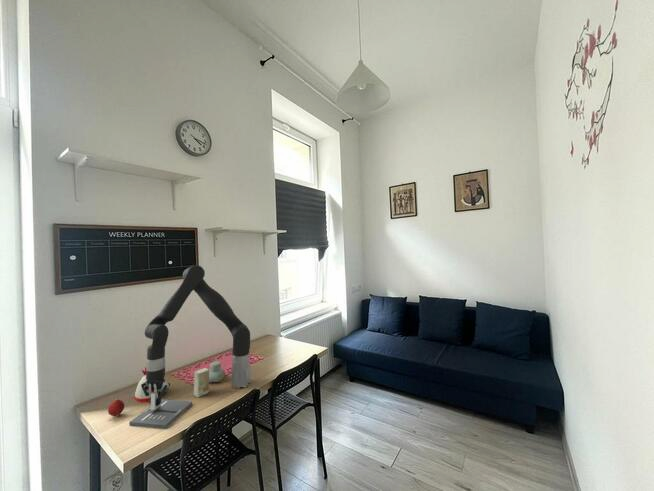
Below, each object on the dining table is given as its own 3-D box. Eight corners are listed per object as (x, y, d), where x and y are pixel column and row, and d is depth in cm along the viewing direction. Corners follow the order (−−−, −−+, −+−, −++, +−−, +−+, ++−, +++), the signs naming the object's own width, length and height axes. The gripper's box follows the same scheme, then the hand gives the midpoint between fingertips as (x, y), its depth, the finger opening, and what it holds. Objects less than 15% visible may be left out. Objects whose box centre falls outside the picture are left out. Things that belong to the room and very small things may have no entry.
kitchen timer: (138, 391, 143) (139, 362, 143) (168, 385, 148) (168, 358, 149) (131, 404, 130) (132, 373, 130) (163, 398, 135) (164, 368, 136)
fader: (161, 406, 125) (161, 388, 125) (152, 412, 120) (153, 394, 120) (157, 406, 125) (157, 388, 125) (148, 412, 120) (149, 393, 120)
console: (192, 404, 130) (192, 401, 130) (165, 428, 112) (165, 425, 112) (160, 402, 132) (160, 398, 132) (129, 425, 114) (129, 421, 114)
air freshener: (215, 385, 149) (215, 367, 149) (202, 384, 150) (203, 366, 151) (227, 376, 159) (227, 360, 159) (214, 375, 161) (215, 358, 161)
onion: (114, 412, 123) (114, 395, 123) (127, 412, 124) (127, 394, 124) (104, 420, 117) (105, 402, 118) (118, 420, 118) (118, 401, 118)
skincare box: (198, 397, 136) (198, 373, 136) (193, 395, 138) (193, 371, 139) (209, 392, 141) (209, 369, 142) (204, 390, 144) (205, 367, 144)
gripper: (175, 364, 126) (174, 401, 125) (148, 363, 128) (148, 399, 127) (163, 371, 118) (162, 410, 118) (135, 369, 120) (134, 408, 120)
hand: (155, 404), depth 122 cm, fingers closed on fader, 2 cm apart
